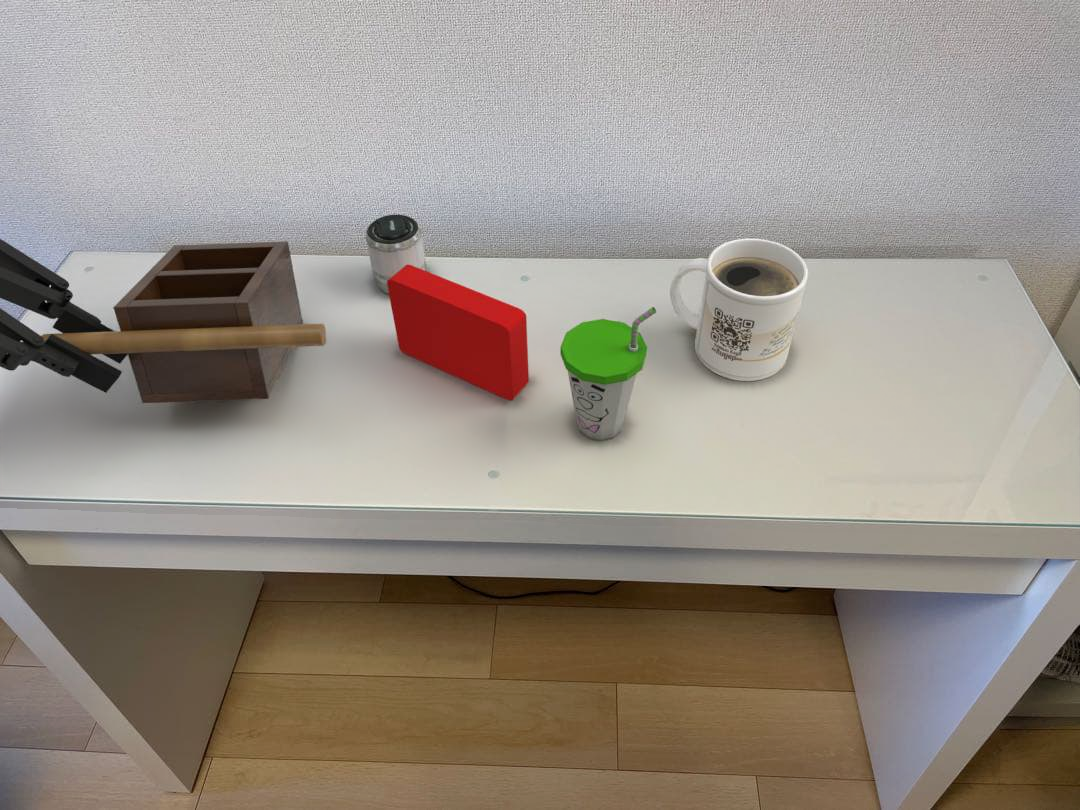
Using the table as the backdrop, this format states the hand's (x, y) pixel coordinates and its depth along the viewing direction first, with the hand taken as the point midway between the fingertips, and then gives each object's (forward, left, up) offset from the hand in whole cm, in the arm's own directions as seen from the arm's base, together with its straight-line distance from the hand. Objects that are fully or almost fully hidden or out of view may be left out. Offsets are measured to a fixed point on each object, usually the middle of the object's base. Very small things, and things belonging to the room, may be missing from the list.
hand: (120, 367), depth 80 cm
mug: (+60, -12, -8) cm, 61 cm away
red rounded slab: (+32, -4, -8) cm, 33 cm away
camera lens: (+30, +13, -8) cm, 33 cm away
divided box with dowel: (+9, +2, -5) cm, 10 cm away
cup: (+42, -17, -8) cm, 46 cm away
